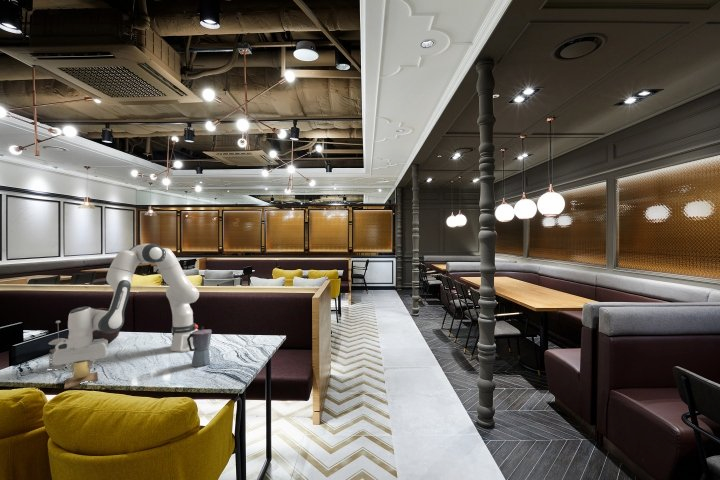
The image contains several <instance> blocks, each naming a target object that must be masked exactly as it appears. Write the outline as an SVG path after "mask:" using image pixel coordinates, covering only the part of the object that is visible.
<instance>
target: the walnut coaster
mask: <svg viewBox="0 0 720 480" xmlns="http://www.w3.org/2000/svg"><path fill="white" fill-rule="evenodd" d="M65 379H66V380H64V387H63V389H69V388H73V387H74V388H75V387H77V386H80V385H79V384H80V383H81V382H85V381H88V382H90V381H95V382H98V381H99V376H98V371H94V372H90V374H89V375H87V376H85V377H81V378H74V377H73V376H72V377H67V378H65ZM97 380H98V381H97Z"/></svg>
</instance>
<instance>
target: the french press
mask: <svg viewBox="0 0 720 480" xmlns="http://www.w3.org/2000/svg"><path fill="white" fill-rule="evenodd" d="M60 323H61V320H56V321H55V324H60ZM59 329H60V328H59V326H57V338H54V339H52V340H51V341H49V342H48V343H47V344H48V345H50V346H56V345H57V344H58V343H60V342H62V341H64V340H67V339H68V338H63V337H59V336H60V332H59ZM55 351H56V349H55V347H54V348H52V349H50V350H49V353H48V361H49V362H48V368H47V369H52V370H55V369H61V368H65V367H66V364H61V365H53V364H52V359H53V354H54V352H55ZM71 364H72V363H71ZM71 364H70V365H71ZM71 366H72V365H71ZM65 369H66V368H65ZM61 370H62V369H61Z"/></svg>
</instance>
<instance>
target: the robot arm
mask: <svg viewBox="0 0 720 480" xmlns="http://www.w3.org/2000/svg"><path fill="white" fill-rule="evenodd" d="M153 263H154V264H155V265H156V266H157V268H158V271H159V273H160V275H161V277H162V278H163V281H164V282H165V284H167V285H168V287H167V288H166V290H165V295H166V298H167V299H168V302H169V305H170V309H171V314H172V317H171V318H172V325H171V336H172V339H171V343H170V344H171V345H170V351H172V352H181V353H185V352H191V351H190V349H189V345H188V342H187V338H188V337H189V335H190V334H192V332H194V331H197V330H199V329H198V328H199V326H198V324H196V323H194V316H193V315H194V312H193V309H192V307H191V305H190V304H194V303H196V302H197V300H198V299H199V297H200V292H199V289H198V288H196V286H195V285H193V284H192V282H191V281H190V279H189V277H188V276H187V275H186V274H185V272H184V270H183V268H182V267H181V264H180V262H179V260H178V258H177V257H176V255H175V253H174V252H173V251H172V250H171V249H170V248H168V247H167V248H166V247H161V245H159V244H157V243H142V244H136V245H134V246H132V247H131V248H130V249H128V250H124V249H123V250H120V251H119V252H117V254H116V256H115V257H114V258H113V260H112V262H111V264H110V266H109V268H108V271H107V274H106V278H105V280H106V282H107V285H109V286H110V287H111V289H112V290H113V296H112V300H111V303H110V305H109V308H108V309H109V311H104V310H97V308H94V307H90V306H79V307H77V308H74V310H73V309H71V310H70V311H69V314H68V318H67V319H68V320H67V330H68V336H67V338H66V339H67V340H64V341H62V342H60V343H58V344H57V345H54V346H55V347H54V348H55V349H56V351H55V352H54V354H52V355H53V359H51V360H52V364H53V365H61V364H66V367H67V368H66V369H68V372H69V373H73V366H72V365H71V366H70V364H73V362H79V361H86V360H91V362H92V363H90V365H89V369H90V370H91V369H94V367H95V365H94V364H95V363H96V361H97V360H98V359H103V358H106V357H107V356H108V354H109V351H108V346H109V344H108V340H107V339H104V338H102V339H94V340H93V335H92V332H93V331H94V330H99V331H102V332H105V333H114V332H116V331H118V330H119V331H120V330H121V329H122V327H123V325H124V323H125V310H126V308H127V303H128V300H129V298H130V297H129V296H130V294H131V288H132V280H133V277H134V274H135V272H136V268H137V267H138V266H139V265H140V264H153ZM189 340H190V344H191V348H192V349H194V346H193V337H190V339H189ZM211 345H212V342H211V341H210V345H209V347H210V346H211Z"/></svg>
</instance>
